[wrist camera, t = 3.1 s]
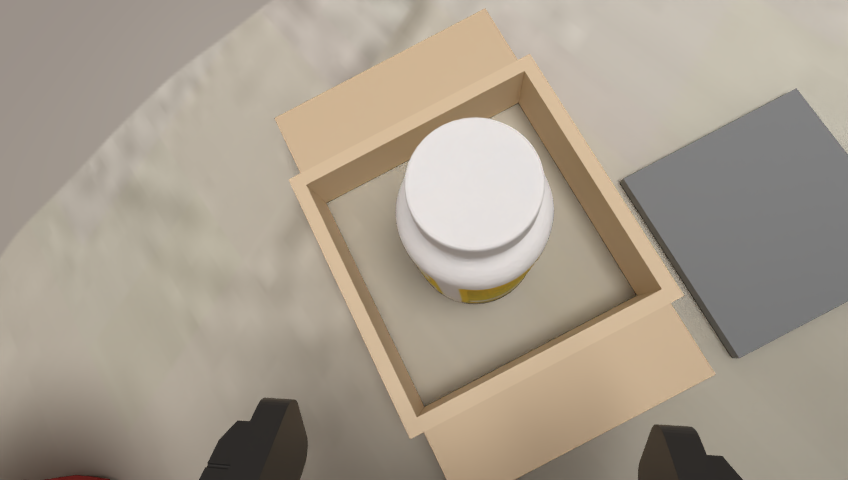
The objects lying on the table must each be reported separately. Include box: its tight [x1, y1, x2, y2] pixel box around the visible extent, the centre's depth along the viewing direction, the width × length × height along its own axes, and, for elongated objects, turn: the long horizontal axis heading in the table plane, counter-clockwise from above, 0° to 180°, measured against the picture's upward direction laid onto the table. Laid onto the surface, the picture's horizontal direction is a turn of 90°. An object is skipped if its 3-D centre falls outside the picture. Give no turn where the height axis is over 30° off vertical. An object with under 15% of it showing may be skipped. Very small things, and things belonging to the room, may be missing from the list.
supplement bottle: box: [396, 117, 554, 304], centre depth 19 cm, size 5×5×10 cm
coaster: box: [620, 88, 848, 358], centre depth 22 cm, size 9×9×1 cm
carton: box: [275, 9, 716, 480], centre depth 22 cm, size 12×18×3 cm, turn 27°
